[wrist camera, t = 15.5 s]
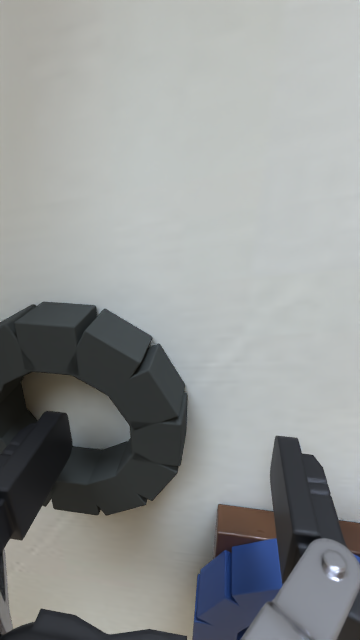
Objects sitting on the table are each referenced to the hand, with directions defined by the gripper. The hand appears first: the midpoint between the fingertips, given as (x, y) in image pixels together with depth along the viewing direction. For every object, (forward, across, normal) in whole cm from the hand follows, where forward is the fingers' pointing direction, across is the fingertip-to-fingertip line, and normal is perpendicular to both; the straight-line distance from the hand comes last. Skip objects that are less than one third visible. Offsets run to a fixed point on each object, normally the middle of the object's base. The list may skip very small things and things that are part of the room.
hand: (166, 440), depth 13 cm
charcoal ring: (+2, +4, 0) cm, 5 cm away
